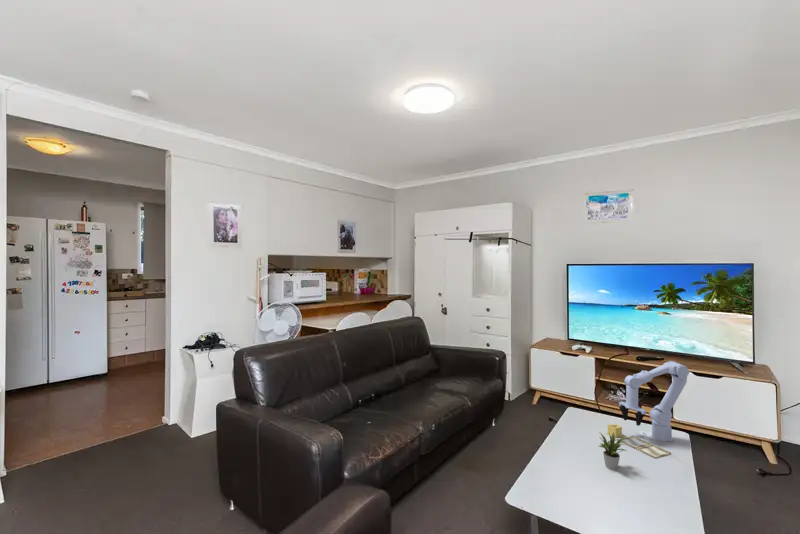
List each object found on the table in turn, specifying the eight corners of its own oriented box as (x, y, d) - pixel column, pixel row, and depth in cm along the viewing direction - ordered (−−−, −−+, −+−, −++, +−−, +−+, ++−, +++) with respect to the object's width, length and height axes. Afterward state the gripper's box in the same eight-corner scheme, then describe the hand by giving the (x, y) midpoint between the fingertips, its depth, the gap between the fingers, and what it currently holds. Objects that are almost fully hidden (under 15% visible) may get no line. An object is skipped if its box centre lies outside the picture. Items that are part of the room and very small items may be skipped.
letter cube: (613, 432, 222) (614, 423, 222) (621, 435, 218) (621, 426, 218) (607, 433, 220) (607, 424, 220) (615, 437, 216) (615, 428, 216)
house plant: (635, 478, 177) (635, 442, 176) (602, 474, 179) (602, 439, 179) (623, 462, 191) (624, 429, 190) (593, 459, 193) (593, 426, 193)
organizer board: (618, 430, 226) (618, 428, 226) (672, 455, 197) (672, 452, 197) (601, 434, 221) (601, 432, 221) (655, 460, 192) (655, 457, 192)
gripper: (615, 394, 220) (615, 418, 220) (639, 403, 206) (639, 428, 207) (624, 393, 223) (623, 416, 223) (648, 401, 209) (648, 426, 209)
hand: (631, 422), depth 215 cm, fingers open, 7 cm apart
